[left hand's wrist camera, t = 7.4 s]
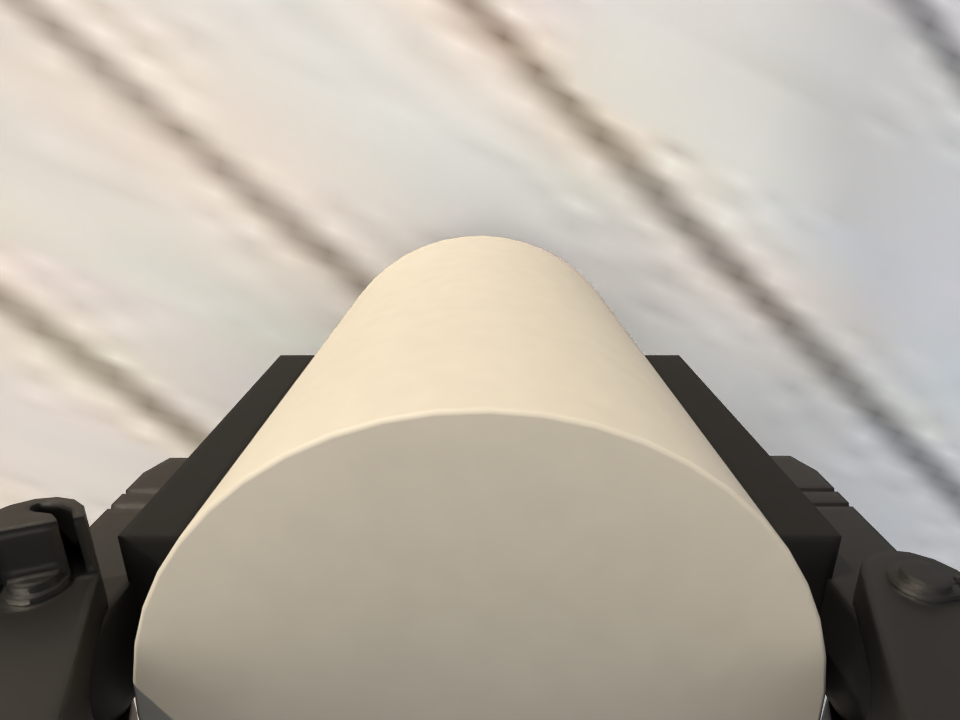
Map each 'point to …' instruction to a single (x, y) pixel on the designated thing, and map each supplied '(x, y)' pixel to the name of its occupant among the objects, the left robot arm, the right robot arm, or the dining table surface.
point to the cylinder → (479, 529)
